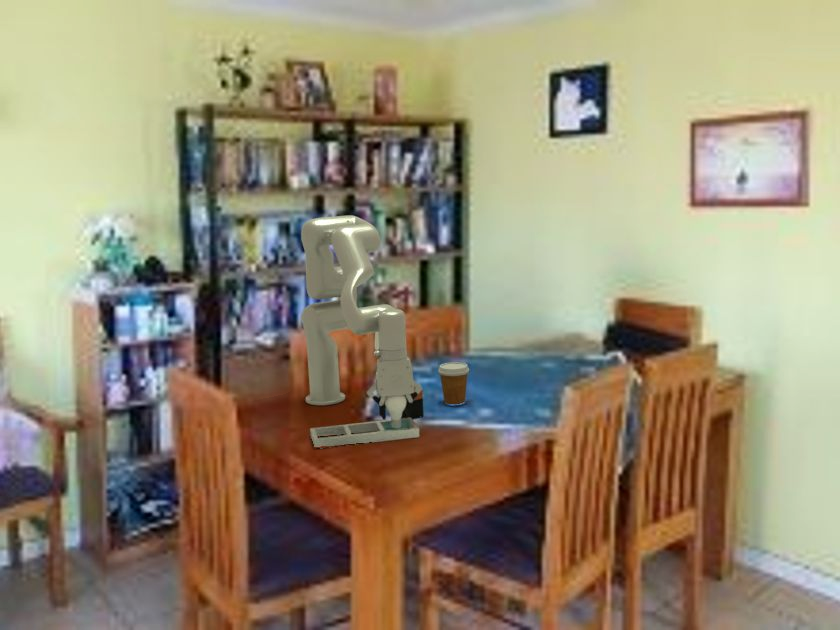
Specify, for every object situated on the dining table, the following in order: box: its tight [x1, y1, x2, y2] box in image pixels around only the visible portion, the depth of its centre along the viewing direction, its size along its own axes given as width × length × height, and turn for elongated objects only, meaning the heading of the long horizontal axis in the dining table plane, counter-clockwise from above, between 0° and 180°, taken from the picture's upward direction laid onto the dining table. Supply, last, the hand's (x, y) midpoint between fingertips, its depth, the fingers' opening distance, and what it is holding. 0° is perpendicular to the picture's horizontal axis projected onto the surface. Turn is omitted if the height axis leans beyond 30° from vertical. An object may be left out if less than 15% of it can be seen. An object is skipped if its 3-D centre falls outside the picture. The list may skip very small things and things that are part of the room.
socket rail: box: [309, 417, 420, 448], centre depth 238 cm, size 10×29×2 cm, turn 103°
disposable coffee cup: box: [437, 361, 470, 404], centre depth 265 cm, size 10×10×12 cm
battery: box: [401, 387, 424, 420], centre depth 253 cm, size 4×7×10 cm, turn 128°
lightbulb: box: [384, 395, 407, 429], centre depth 239 cm, size 6×6×11 cm
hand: (395, 416), depth 239 cm, fingers closed on lightbulb, 6 cm apart
